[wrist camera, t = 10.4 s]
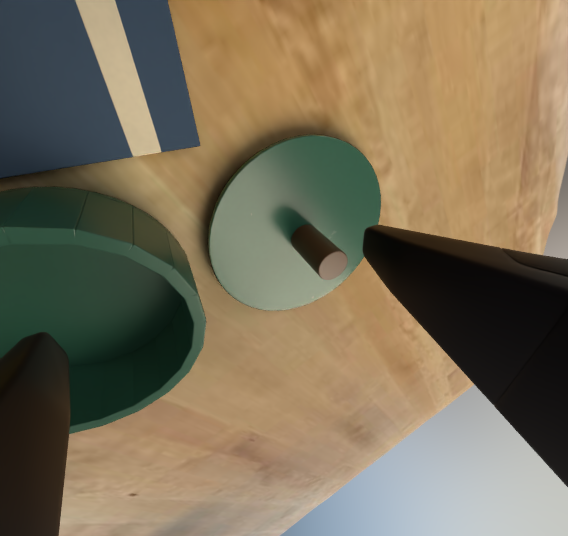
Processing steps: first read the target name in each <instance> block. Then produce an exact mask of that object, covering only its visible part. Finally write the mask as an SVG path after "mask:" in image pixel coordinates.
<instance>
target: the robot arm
mask: <svg viewBox="0 0 568 536" xmlns="http://www.w3.org/2000/svg"><path fill="white" fill-rule="evenodd" d="M362 251H363V255H364V257H365V258H366V259H367V261H368V262H369V264H370V265H371V266H372V268H373V269H374V270H375V272H376V273H377V274H378V276H379V277H380V279H381V280H382V281H383V283H384V284H385V285H386V287H387V288H388V289H389V290H390V292H391V293H392V294H393V295H394V296H395V297H396V298H397V299H398V301H399V302H400V303H401V304H402V305H403V306H404V307H405V308H406V309H407V310H408V312H409V313H410V314H411V315H412V316H413V317H414V318H415V319H416V320H417V321H418V323H419V324H420V325H421V326H422V327H423V328H424V329H425V330H426V331H427V332H428V334H429V335H430V336H431V337H432V338H433V339H434V340H435V341H436V342H437V343H438V345H439V346H440V347H441V348H442V349H443V350H444V351H445V352H446V353H447V355H448V356H449V357H450V358H451V359H452V360H453V361H454V362H455V363H456V364H457V366H458V367H459V368H460V369H461V370H462V371H463V372H464V373H465V374H466V375H467V377H468V378H469V379H470V380H471V381H472V382H473V383H474V384H475V385H476V386H477V388H478V389H479V390H480V391H481V392H482V393H483V394H484V395H485V396H486V397H487V399H488V400H489V401H490V402H491V403H492V404H493V405H494V406H495V407H496V409H497V410H498V411H499V412H500V413H501V414H502V415H503V416H504V417H505V419H506V420H507V421H508V422H509V423H510V424H511V425H512V426H513V427H514V428H515V430H516V431H517V432H518V433H519V434H520V435H521V436H522V437H523V438H524V439H525V441H527V443H528V444H529V445H530V446H531V447H532V448H533V449H534V451H535V452H536V453H537V454H538V455H539V456H540V457H541V458H542V459H543V460H544V462H545V463H546V464H547V465H548V466H549V467H550V468H551V469H552V470H553V471H554V473H555V474H556V475H557V476H558V477H559V478H560V479H561V480H562V481H563V482H564V484H565V485H566V486H567V487H568V259H562V258H556V257H550V256H543V255H537V254H532V253H526V252H520V251H515V250H510V249H505V248H502V249H501V248H499V247H494V246H488V245H483V244H478V243H473V242H467V241H462V240H457V239H451V238H446V237H441V236H436V235H430V234H425V233H420V232H414V231H409V230H404V229H399V228H393V227H388V226H383V225H374V226H371V227H368V228H366V229H365V231H364V238H363V247H362ZM69 429H70V380H69V359H68V355H67V353H66V352H65V350H64V349H63V348H62V347H61V346H60V345H59V344H58V343H57V342H56V341H55V339H54V338H53V337H52V336H51V335H50V334H49V333H47V332H39V333H36V334H33V335H30V336H27V337H24V338H22V339H21V340H20V341H19V342H18V343H17V344H16V345H15V346H14V347H13V348H12V349H10V350H9V351H8V352H7V353H6V354H5V355H4V356H3V357H2V358H1V359H0V536H58V535H59V526H60V516H61V506H62V497H63V487H64V477H65V468H66V458H67V448H68V439H69Z"/></svg>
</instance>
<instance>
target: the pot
mask: <svg viewBox="0 0 568 536" xmlns="http://www.w3.org/2000/svg"><path fill="white" fill-rule="evenodd" d="M205 328H206V317H205V314H204V310H203V307H202V304H201V300H200V297H199V294H198V290H197V287H196V284H195V281H194V277H193V274H192V271H191V268H190V265H189V262H188V259H187V256H186V254H185V252H184V250H183V249H182V248H181V246H180V244H179V243H178V241H177V240H176V239H175V238H174V237H173V235H172V234H171V233H170V232H169V231H168V230H167V229H166V228H165V227H164V226H163V225H162V224H160V223H159V222H158V221H157V220H155V219H154V218H152V217H151V216H150V215H148V214H147V213H145V212H143V211H141V210H140V209H138V208H136V207H134V206H132V205H130V204H128V203H125V202H123V201H121V200H118V199H116V198H113V197H109V196H106V195H103V194H100V193H96V192H91V191H86V190H81V189H75V188H65V187H27V188H18V189H10V190H6V191H1V192H0V359H1V358H2V357H3V356H4V355H5V354H6V353H7V352H8V351H9V350H10V349H12V348H13V347H14V346H15V345H16V344H17V343H18V342H19V341H20V340H21V339H22V338H24V337H27V336H30V335H33V334H36V333H39V332H47V333H49V334H50V335H51V336H52V337H53V338H54V339H55V341H56V342H57V343H58V344H59V345H60V346H61V347H62V348H63V349H64V350H65V352H66V353H67V355H68V359H69V380H70V429H69V434H71V433H75V432H79V431H84V430H88V429H92V428H96V427H100V426H103V425H106V424H108V423H111V422H113V421H116V420H118V419H121V418H123V417H125V416H128V415H130V414H133V413H135V412H138V411H139V410H141V409H143V408H144V407H146V406H148V405H149V404H151V403H152V402H154V401H155V400H157V399H159V398H160V397H162V396H163V395H165V394H166V393H168V392H169V391H170V390H171V389H172V388H173V387H174V386H175V385H176V384H177V383H178V382H179V381H180V380H181V379H182V378H183V377H184V376H185V375H186V374H187V373H188V372H189V371H190V370H191V368H192V366H193V364H194V363H195V361H196V359H197V357H198V355H199V353H200V351H201V350H202V348H203V344H204V336H205Z"/></svg>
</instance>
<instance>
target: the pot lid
mask: <svg viewBox="0 0 568 536" xmlns="http://www.w3.org/2000/svg"><path fill="white" fill-rule="evenodd" d="M380 209H381V194H380V188H379V183H378V180H377V176H376V174H375V172H374V170H373V168H372V166H371V164H370V163H369V161H368V160H367V158H366V157H365V156H364V155H363V154H362V153H361V152H360V151H359V150H358V149H356V148H355V147H353V146H352V145H351V144H349V143H347V142H345V141H342V140H340V139H338V138H334V137H330V136H326V135H316V134H309V135H298V136H294V137H290V138H286V139H283V140H281V141H279V142H276V143H274V144H271V145H270V146H268V147H266V148H265V149H263V150H261V151H259V152H258V153H257V154H255V155H254V156H253V157H251V158H250V159H249V160H248V161H246V162H245V163H244V164H243V165H242V166H241V167H240V168H239V169H238V170H237V171H236V172H235V174H234V175H233V176H232V178H231V179H230V180H229V182H228V183H227V184H226V186H225V187H224V189H223V191H222V193H221V194H220V196H219V198H218V200H217V203H216V205H215V207H214V210H213V213H212V217H211V220H210V224H209V232H208V252H209V257H210V262H211V265H212V268H213V270H214V273H215V275H216V277H217V279H218V281H219V282H220V284H221V285H222V286H223V288H224V289H225V290H226V291H227V292H228V293H229V294H230V295H231V296H232V297H233V298H235V299H236V300H238V301H239V302H241V303H243V304H245V305H247V306H250V307H253V308H256V309H261V310H268V311H280V310H288V309H293V308H297V307H301V306H304V305H307V304H309V303H311V302H314V301H316V300H318V299H319V298H321V297H323V296H325V295H326V294H328V293H329V292H331V291H332V290H334V289H335V288H336V287H337V286H339V285H340V284H341V283H342V282H343V281H344V280H345V279H346V278H347V277H348V276H349V275H350V274H351V273H352V272H353V271H354V270H355V268H356V267H357V266H358V265H359V263H360V262H361V260H362V259H363V257H364V255H363V251H362V247H363V238H364V231H365V229H366V228H368V227H371V226H374V225H378V222H379V217H380Z"/></svg>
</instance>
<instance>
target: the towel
mask: <svg viewBox="0 0 568 536" xmlns="http://www.w3.org/2000/svg"><path fill="white" fill-rule="evenodd" d="M197 146H200V142H199V137H198V133H197V129H196V124H195V120H194V115H193V111H192V106H191V102H190V98H189V93H188V89H187V84H186V80H185V76H184V71H183V67H182V62H181V58H180V53H179V49H178V45H177V40H176V36H175V31H174V27H173V22H172V18H171V14H170V9H169V5H168V0H0V178H6V177H12V176H18V175H24V174H31V173H37V172H43V171H49V170H55V169H61V168H68V167H74V166H80V165H86V164H92V163H98V162H105V161H111V160H117V159H123V158H129V157H136V156H142V155H148V154H154V153H160V152H166V151H172V150H179V149H185V148H191V147H197Z"/></svg>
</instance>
